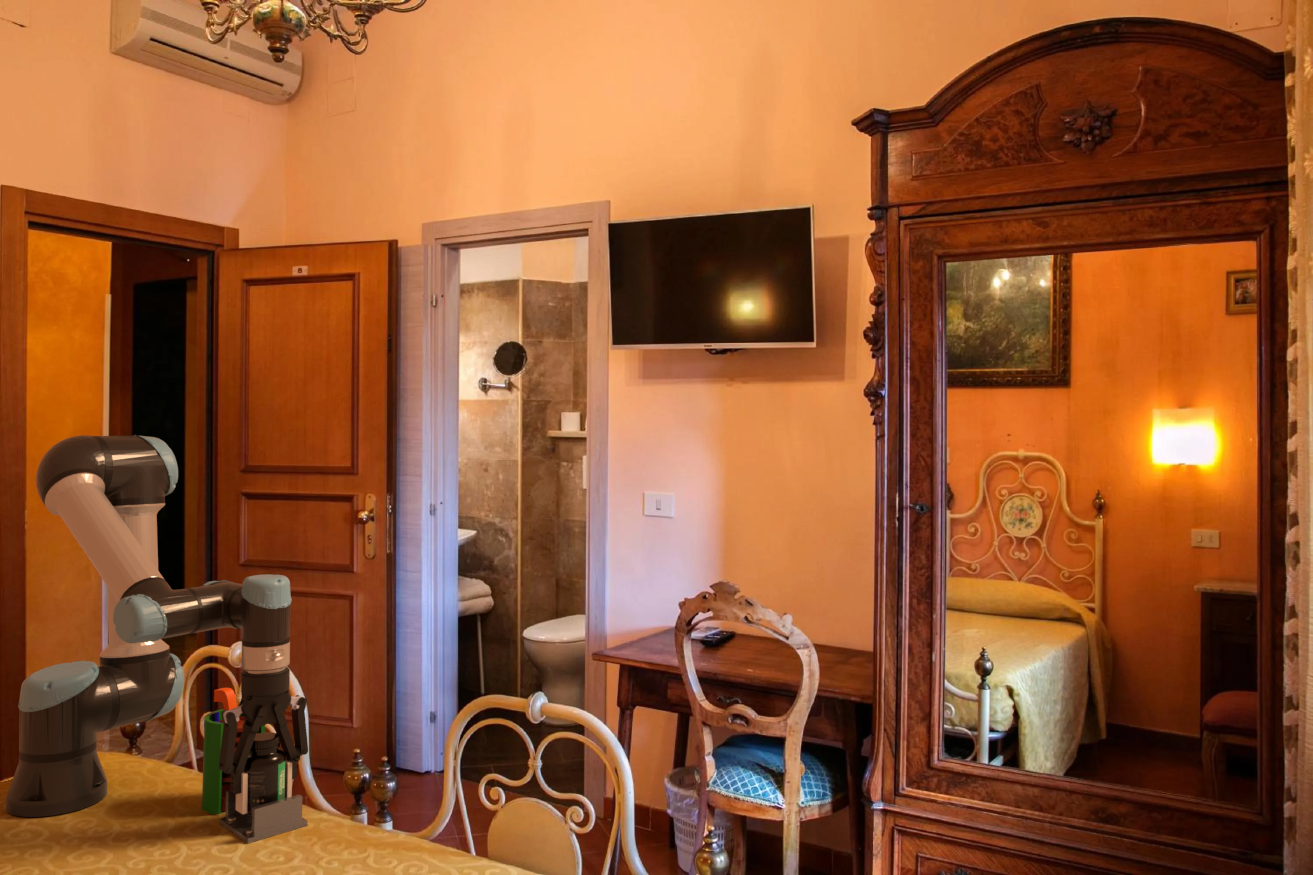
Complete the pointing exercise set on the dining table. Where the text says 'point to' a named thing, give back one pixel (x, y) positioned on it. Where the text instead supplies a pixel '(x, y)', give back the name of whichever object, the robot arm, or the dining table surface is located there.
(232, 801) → the cradle
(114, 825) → the dining table surface
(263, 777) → the supplement bottle
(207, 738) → the motor
